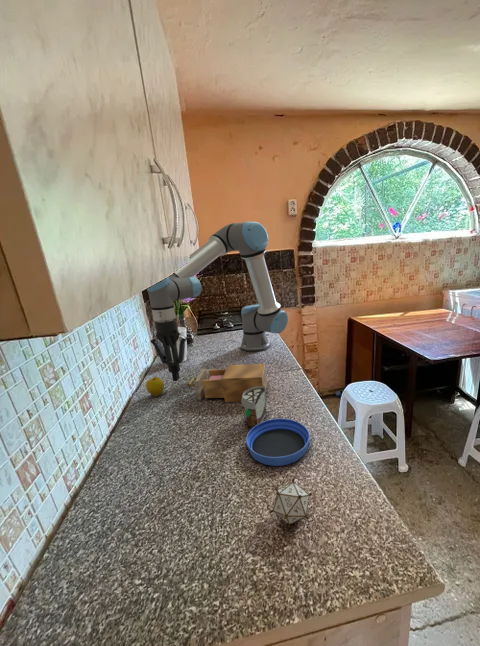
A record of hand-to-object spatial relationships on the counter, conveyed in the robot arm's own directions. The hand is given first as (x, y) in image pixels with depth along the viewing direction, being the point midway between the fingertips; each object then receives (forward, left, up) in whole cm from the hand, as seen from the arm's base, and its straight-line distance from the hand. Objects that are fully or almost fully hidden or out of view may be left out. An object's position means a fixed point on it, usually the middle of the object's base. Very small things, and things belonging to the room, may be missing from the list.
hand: (176, 379), depth 119 cm
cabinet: (0, +27, -7) cm, 28 cm away
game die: (+57, +45, -7) cm, 73 cm away
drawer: (0, +14, -6) cm, 15 cm away
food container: (+19, +32, -7) cm, 38 cm away
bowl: (+33, +41, -7) cm, 53 cm away
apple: (-1, -9, -7) cm, 12 cm away
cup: (-38, -13, -7) cm, 41 cm away
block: (0, +15, -5) cm, 16 cm away
